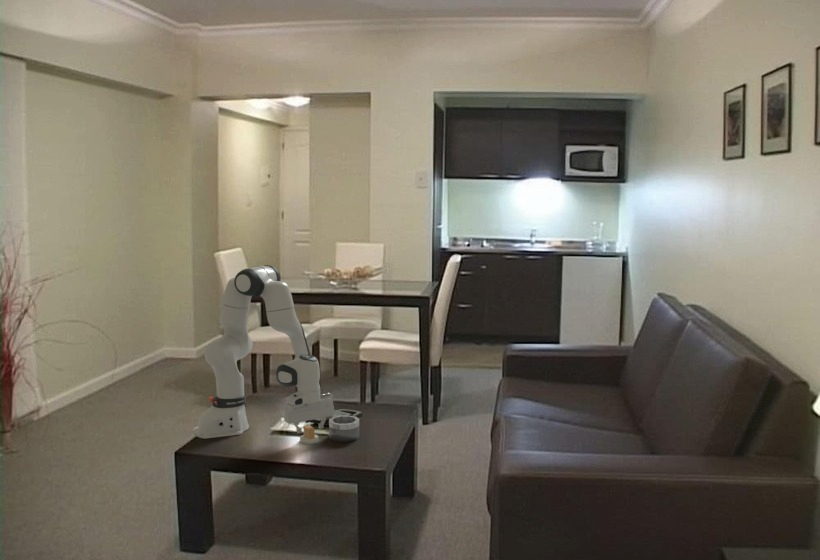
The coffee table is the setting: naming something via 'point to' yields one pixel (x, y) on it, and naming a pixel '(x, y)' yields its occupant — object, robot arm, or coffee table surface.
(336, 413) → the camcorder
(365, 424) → the coffee table surface
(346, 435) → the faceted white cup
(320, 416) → the robot arm
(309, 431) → the block on round base
